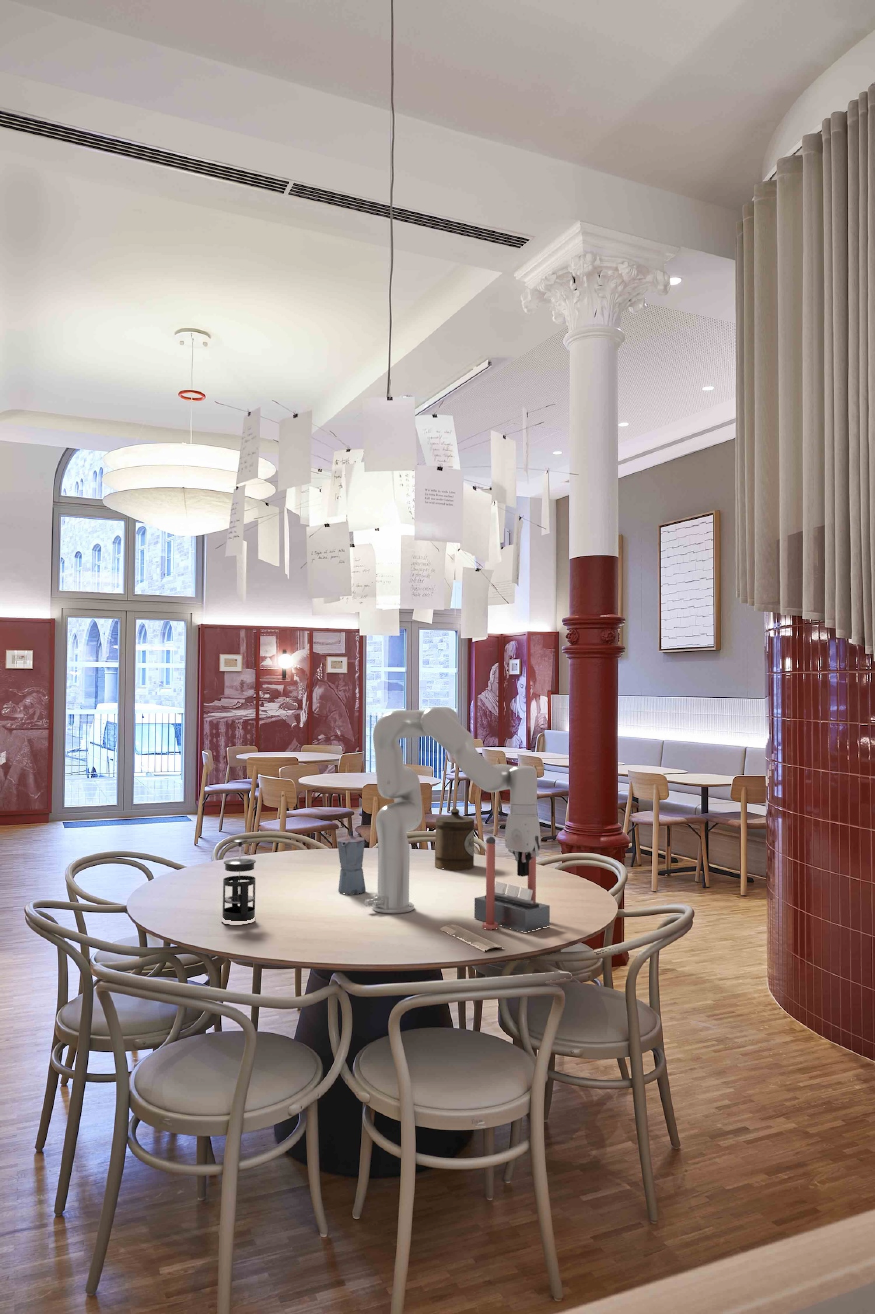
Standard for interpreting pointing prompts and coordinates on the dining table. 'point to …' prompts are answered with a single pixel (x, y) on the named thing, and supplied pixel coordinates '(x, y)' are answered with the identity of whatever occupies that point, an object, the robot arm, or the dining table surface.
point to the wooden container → (454, 842)
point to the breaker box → (515, 913)
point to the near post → (490, 885)
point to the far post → (532, 878)
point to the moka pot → (351, 864)
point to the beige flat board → (469, 937)
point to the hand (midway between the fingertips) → (523, 875)
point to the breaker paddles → (513, 892)
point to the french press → (242, 898)
